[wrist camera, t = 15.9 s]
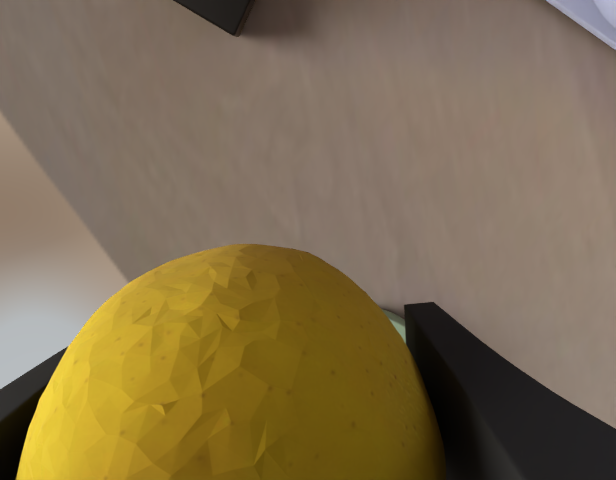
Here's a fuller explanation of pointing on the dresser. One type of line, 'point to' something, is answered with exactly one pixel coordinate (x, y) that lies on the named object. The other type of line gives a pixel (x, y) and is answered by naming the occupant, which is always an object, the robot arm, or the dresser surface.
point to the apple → (236, 380)
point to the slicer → (222, 12)
